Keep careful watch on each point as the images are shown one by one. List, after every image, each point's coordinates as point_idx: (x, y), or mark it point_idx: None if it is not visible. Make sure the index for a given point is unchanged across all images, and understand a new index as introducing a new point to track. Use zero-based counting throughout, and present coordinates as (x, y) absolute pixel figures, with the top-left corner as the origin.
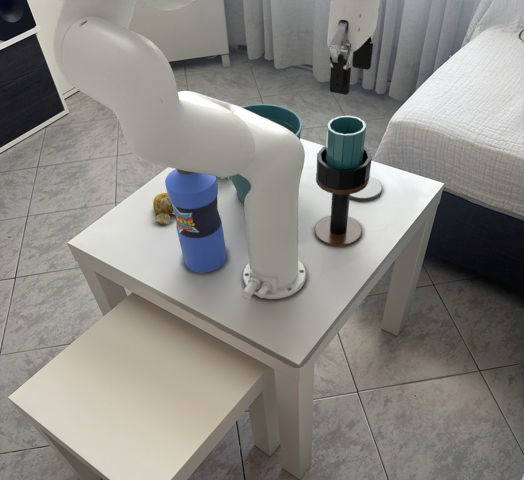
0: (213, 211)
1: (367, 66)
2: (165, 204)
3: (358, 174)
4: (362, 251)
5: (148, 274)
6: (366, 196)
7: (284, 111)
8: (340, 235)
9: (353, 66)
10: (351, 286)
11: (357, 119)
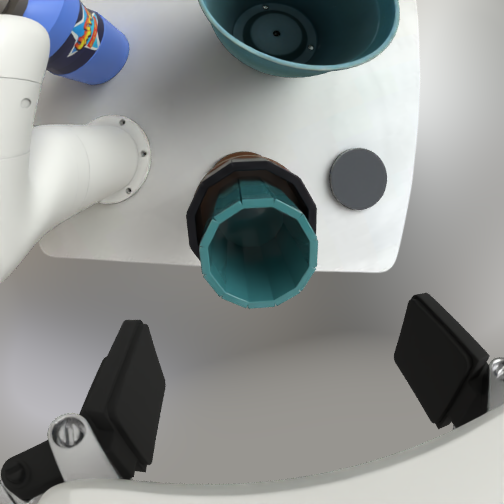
0: (49, 66)
1: (399, 361)
2: None
3: None
4: None
5: None
6: (339, 195)
7: (392, 15)
8: None
9: (409, 302)
10: (151, 255)
11: (307, 268)
